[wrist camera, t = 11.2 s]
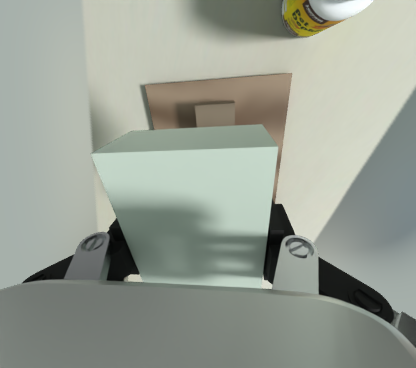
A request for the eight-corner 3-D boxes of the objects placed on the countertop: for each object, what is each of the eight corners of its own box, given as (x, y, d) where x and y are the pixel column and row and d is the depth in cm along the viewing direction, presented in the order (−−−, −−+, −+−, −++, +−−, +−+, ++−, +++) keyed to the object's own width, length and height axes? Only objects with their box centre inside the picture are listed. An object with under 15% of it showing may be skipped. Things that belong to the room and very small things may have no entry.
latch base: (147, 84, 24) (134, 85, 21) (289, 73, 22) (301, 72, 19) (174, 215, 35) (168, 230, 32) (271, 215, 33) (276, 231, 30)
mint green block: (131, 131, 9) (90, 153, 6) (262, 124, 8) (278, 146, 5) (168, 266, 14) (155, 311, 11) (251, 270, 13) (257, 318, 10)
